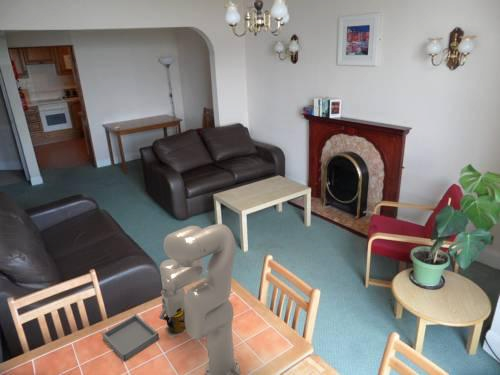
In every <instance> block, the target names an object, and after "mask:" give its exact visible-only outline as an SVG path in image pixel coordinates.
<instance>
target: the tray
mask: <svg viewBox="0 0 500 375" xmlns="http://www.w3.org/2000/svg"><path fill="white" fill-rule="evenodd" d="M101 336H102V340H103V341H104V342H105V343H106V344H107V345H108V346H109V347H110V348H111V349H112V350H113V351H114V353H116V355H117V356H118V357H119V358H120V359H121V360H122V361H123V362H126V361H128V360H129V359H131V358H133V357H134V356H135V355H137V354H139V353H141V352H142V351H143V350H144V349H146V348H147V347H150V346H151V345H153V343H155V342H157V341H158V340H160V337H159V333H158V332H157V331H156V330H155V329H154V328H153V327H152V326H150V325H149V324H148V323H146V321H145V320H144V319H142V317H140V316H139V315H137V314H134V315H132V316H130V317H129V318H127V319H125V320H123V321H122V322H120V323H118V324H116V325H114V326H113V327H111V328H110V329H108V330H106V331H104V332H102V334H101Z"/></svg>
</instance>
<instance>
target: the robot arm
mask: <svg viewBox="0 0 500 375" xmlns="http://www.w3.org/2000/svg"><path fill="white" fill-rule="evenodd" d="M163 240H164V241H163V246H162V247H163V251H164V252H165V255H166V256H167V257H168V258H169V259H166V260H163V261H162V262H161V263H160V265H159V271H160V278H161V284H162V290H161V291H160V294H161V306H162V307H161V308H162V309H161V312H160V314H159V316H158V318H159V320H162V321H166V325H167V327H170V328H173V321H172V320H171V318H172V316H174V315H176V314H177V312H176V311H177V310H178V309H180V308H181V310H183V312H184V319H185V327H186V330H187V331H186V332H187V334H188V336H189V337H190V338H191V339H193V340H202V339H204V338H205V340H206V349H207V357H208V358H207V360H208V362H206V366H205V374H206V375H242V374H241V372H240V366H239V362H238V360H237V359H236V358H235V351H234V350H235V349H234V338H233V336H234V335H233V320H234V313H235V312H234V311H235V310H234V306H233V303H232V302H231V300H230V296H231V292H232V280H233V279H232V278H233V268H234V264H235V258H236V255H237V254H236V253H237V252H236V250H237V246H236V245H237V244H236V239H235V236H234V234H233V232H232V230H231V228H229V227H228V226H227V225H226V224H223V223H222V224H221V223H218V224H217V223H216V224H212V225H209V226H206V227H204V228H201V227H200V226H198V225H189V226H186V227H183V228H181V229H178V230H176V231H173V232H171V233H169V234H167V235H166V236H165V237H164V239H163ZM210 255H211V257H210V258H209V261H208V263H207V265H206V268H205V266H204V265H205V264H204V261H203V259H204V258H206V257H208V256H210ZM204 268H205V277H204V278H205V279H204V280H202V281H201V282H200V283H196V284H195V285H193V286H192V287H190V288H189V289H188V290H187V291H185V289H184V287H186V286H188V285H189V284H191V283H193V282H195V281H197V280H199V279H200V277H201V276H202V274H203V272H204Z"/></svg>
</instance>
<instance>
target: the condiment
mask: <svg viewBox="0 0 500 375" xmlns="http://www.w3.org/2000/svg"><path fill="white" fill-rule="evenodd" d="M176 312H177V314H176V315H174V316H172V318H171V320H172V321H173V328H170V327H168V326H167V327H164V330H165V332H166V333H167V335H168V337H170V339H173V338H175V337H177V336H180V335H182V334H183V333H186V332H187V330H186V327H185V319H184V312H183V310H181V308H180V309H178V310H177V311H176Z"/></svg>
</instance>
